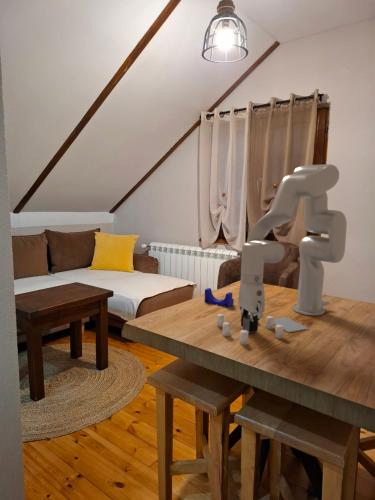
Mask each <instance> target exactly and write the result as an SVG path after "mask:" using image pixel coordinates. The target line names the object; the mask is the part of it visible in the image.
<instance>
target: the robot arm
mask: <svg viewBox="0 0 375 500" xmlns="http://www.w3.org/2000/svg"><path fill="white" fill-rule="evenodd" d="M339 179H340V171H339V168H338V167H337V166H336V165H334V164H331V163H330V164H328V163H327V164H326V163H325V164H305V165H301V166H297V167H295V169H294V170H293V172H292V174H287V175H285V176H284V177H283V178H282V180H281V181H280V184H279V187H278V189H277V191H276V194H275V197H274V199H273V202H272V205H271V207H270V210H269V211H268V212H267V213H266V214H264V215H263V216H262V217H261V218H260V219H259V220H258V221H257V222H256V223H255V224H254V225H253V227H252V228H251V229H250V231H249V234H248V237H247V240H246V242H245V243H243V244H242V247H241V264H240V266H241V267H240V284H239V289H238V290H239V292H238V302H237V304H238V307H239V309H240V315H241V317H240V319H241V320H240V326H241V327H242V328H243V316H244V315H250V317H251V321H249V332H255V331H256V332H258V329H259V321H260V319H261V318H262V317H264V312H265V303H266V302H265V298H266V296H265V294H266V293H265V286H264V284H263V283H264V268H265V267H264V264H276V263H279V262H281V261H283V259H284V258H285V254H286V249H285V247H284V245H283V244H282V243H280V242H277V241H272V240H267V239H264V238H265V236H266V234H268V233H269V232H270V231H271V230H272V229H275V228H276V227H278V226H279V227H280V226H282V225H284V224H287V223H289V222H290V221H293V219H294V217H295V214H296V212H297V208H298V206H299V203H300V202H301V201H300V200H301V199H304V212H303V213H304V216H303V220H304V221H303V225H304V228H305V229H304V230H305V231H307V232H309V233H312V234H320V235H321V234H322V235H328V237H326V236H320V235H306V236H304V237H303V238H302V239H300V242H299V244H298V251H299V260H300V261H299V264H300V265H299V276H298V277H299V278H298V287H297V289H298V290H297V301H296V304H294V305H293V306H292V310H293V311H294V312H296V313H298V314H301V315H304V316H305V315H306V316H316V317H317V316H322V315H324V314H325V311H326V310H325V309H324V307H325V306H330V304H331V303H330V300H323V299H322V298H323V289H324V277H325V268H324V264H323V263H322V262H325V263H329V264H331V263H333V264H338V263H339V262H341V261H342V260H343V259H344V257H345V253H346V241H347V229H348V227H347V225H348V224H347V218H346V215H345V214H344V212H342V211H340V210H337V209H335V210H334V209H328V208H329V207H328V203H329V202H328V201H329V200H328V193H327V192H328V191H330V190H332V189H333V188H334V187H336V185H337V183H338V181H339ZM255 310H256V311H255ZM253 314H256V315H255V316H254V315H253Z"/></svg>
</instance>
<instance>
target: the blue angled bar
mask: <svg viewBox="0 0 375 500" xmlns="http://www.w3.org/2000/svg"><path fill="white" fill-rule="evenodd" d="M203 302H204V303H206V302H207V304H211V303H212V305H215V304H217V305H216V306H220V305H221V306H220V307H224V306H225V307H224V308H228V309H229V308H231V307H233V306H234V298H233V292H227V293H226V294H225V297H224V299H218V298H216V297H215V296H214V294H213V292H212V288H210V287H207V288H205V289H204V301H203Z"/></svg>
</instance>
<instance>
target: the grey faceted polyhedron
mask: <svg viewBox="0 0 375 500" xmlns="http://www.w3.org/2000/svg"><path fill="white" fill-rule="evenodd" d="M249 321H251V317H250V314H248V315H244V316H243V327H242V330H247V331H248V335H249V334H256V333H257V331H255V332H249Z"/></svg>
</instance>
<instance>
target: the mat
mask: <svg viewBox="0 0 375 500" xmlns="http://www.w3.org/2000/svg"><path fill="white" fill-rule="evenodd" d="M276 325H283V326H284V330H283V332H284V331H285V332H286V333H288V334H289V333H294V332H300V331H308V330H309V327H306V326H305V325H303V324H300V323H299V322H297V321H295V320H293V319H292V318H289V317H279V318H274V326H276Z"/></svg>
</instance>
